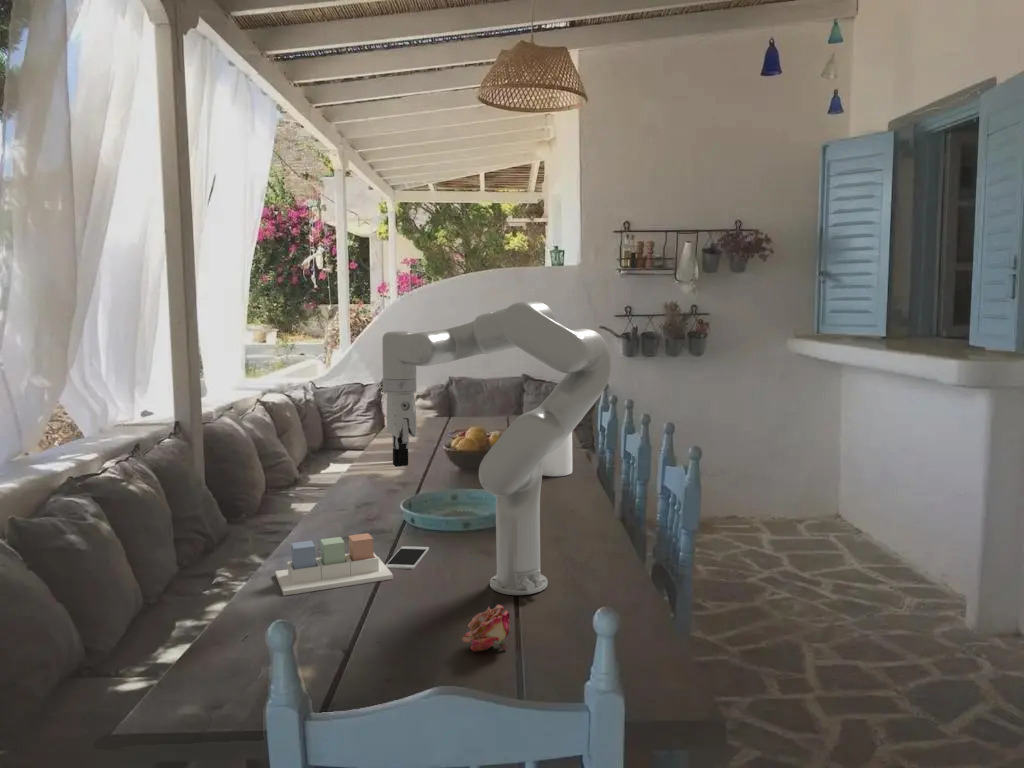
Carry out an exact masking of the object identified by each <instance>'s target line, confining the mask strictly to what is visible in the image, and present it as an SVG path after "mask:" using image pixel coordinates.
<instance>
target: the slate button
mask: <svg viewBox="0 0 1024 768" xmlns="http://www.w3.org/2000/svg"><path fill="white" fill-rule="evenodd" d="M290 547H291V548H290V549H291V550H290V551H291V561H292V566H293V568H294V569H301V568H308V567H315V566H316V558H317V556H316V554H317V553H316V545H315V544H314V542H313V540H306V541H298V542H297V541H296V542H291V543H290Z"/></svg>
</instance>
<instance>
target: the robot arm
mask: <svg viewBox="0 0 1024 768" xmlns="http://www.w3.org/2000/svg"><path fill="white" fill-rule="evenodd" d="M381 341H382V346H381V347H382V393H383V394H386V429H387V432H388V433H389V434H391V436H392V437H391V438H392V465H393V466H394V467H396V468H397V467H408V466H409V443H410V437H409V436H412V437H417V434H418V427H417V425H418V424H417V409H416V407H417V406H416V399H415V394H416V393H417V366H418V367H430V366H434V365H439V364H446V363H450V362H454V361H458V360H461V359H466V358H470V357H473V356H479V355H489V354H493V353H497V352H501V351H504V350H505V351H506V350H509V349H513V348H519V349H520V350H522V351H523V352H525V353H526V354H528V355H530V356H531V357H533V358H534V359H536V360H538V361H540V362H541V363H543V364H544V365H546V366H548V367H549V368H551V369H553V370H555V371H557V372H560V373H562V374H565V376H564V377H563V378H562V379H561V380H560V381H559V382H557V384H556V386H555V387H554V388H553V389H552V391H551V392H550V393H549V395H548V396H547V397H545V399H544V400H543V401H542V403H540V404H539V406H537V407H536V408H534V409H532V410H529V411H527V412H524V413H523V414H521V415H519V416H518V417H517V418H515V420H513V421H512V422H511V424H510V425H509V426H508V427H507V428H506V429H505V430H504V432H503V433H502V434H501V435H500V436H499V438H498V439H497V440H496V441H495V443H494V444H493V445H492V446H491V448H490V449H489V450H488V451H487V453H486V454H485V455H484V457H483V459H482V460H481V462H480V464H479V467H478V480H479V483H480V485H481V487H482V488H483V489H484V491H485V492H487V493H489V494H491V495H492V496H494V497H495V496H496V499H495V500H496V501H495V537H496V538H495V539H496V543H495V544H496V546H495V547H496V575H494V576H492V577H491V578H490V579H489V587H490V588H491V589H492V590H493V591H495V592H497V593H500V594H503V595H512V596H526V595H527V596H528V595H532V594H536V593H539V592H542V591H543V590H546V588H548V587H547V586H548V583H549V582H548V578H547V577H546V576H545V575H543V574H542V573H541V514H540V513H541V506H540V505H541V488H542V487H541V486H542V479H543V475H542V459H543V458H544V457H545V456H546V455H547V454H549V453H551V452H553V451H554V450H556V449H557V448H559V447H560V446H561V445H562V444H563V442H564V441H565V440H566V438H567V437H568V436H569V434H570V433H571V432H572V433H573V431H574V430H575V428H576V427H577V426H578V425H579V423H580V422H581V421H582V420H583V419H584V417H585V416H586V415H587V414H588V413H589V410H590V409H591V408H592V407H593V406H594V404H595V403H596V402H597V401H598V399H599V398H600V397H601V395H602V394H603V392H604V391H605V389H606V387H607V384H608V383H609V380H610V377H611V372H612V357H611V352H610V349H609V346H608V344H607V342H606V340H605V338H603V336H602V335H601V334H600V333H599V332H597V331H595V330H593V329H589V328H583V327H582V328H575V329H569V328H567V327H566V326H564V325H562V324H561V323H558V322H556V319H555V315H554V312H553V310H552V309H551V308H550V306H549V305H547V304H545V303H543V302H542V301H541V302H540V301H536V300H535V301H519V302H515V303H512V304H511V305H509V306H508V307H507V308H504V309H503V308H502V309H499V310H495V311H491V312H487V313H483V314H480V315H478V316H476V317H475V319H474V320H473V321H471V322H468V323H465V324H461V325H457V326H453V327H450V328H445V329H441V330H430V331H429V330H428V331H422V332H415V333H413V332H411V331H398V330H397V331H387V332H385V333H384V334H383V335H382V340H381Z"/></svg>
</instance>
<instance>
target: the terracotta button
mask: <svg viewBox="0 0 1024 768" xmlns="http://www.w3.org/2000/svg"><path fill="white" fill-rule="evenodd" d="M348 549H349V551H348V554H349V556H350V558H351V560H352V561H358V560H365V559H372V558H374V554H373V552H374V538H373V536H372V535H371V534H370V533H368V532H367V533H359V534H353V535H352V534H351V535H348Z"/></svg>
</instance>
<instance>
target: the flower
mask: <svg viewBox="0 0 1024 768" xmlns="http://www.w3.org/2000/svg"><path fill="white" fill-rule="evenodd" d="M504 609H505V608H504V606H503V605H501V604H496V605H495V607H494V608H492V609H491V608H490V606H488V607H487V609H486V610H485V611H484V612H478V613H477V614H476V615H474V616H473V617H472V619H471V621H470V622H469V623H468V624H467V627H468V629H470V631H468V632H467V633H465V634H464V635H463V637H462V642H464V643H465V644H469V643H470V642H471V644H470V645H469V647H470V650H472V651H473V652H474V653H475V652H478V651H486V650H488V649H491V647H492V646H498V645H499V647H500V648H501V649H502V651H506V650H507V649H508V646H507V645H506V644H505V643H504V640H505V639H506V638H508V637H509V636H510V633H511V631H510V630H511V622H512V620H510V617H511V614H510V613H509V611H508V610H507V609H505V610H504Z"/></svg>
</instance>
